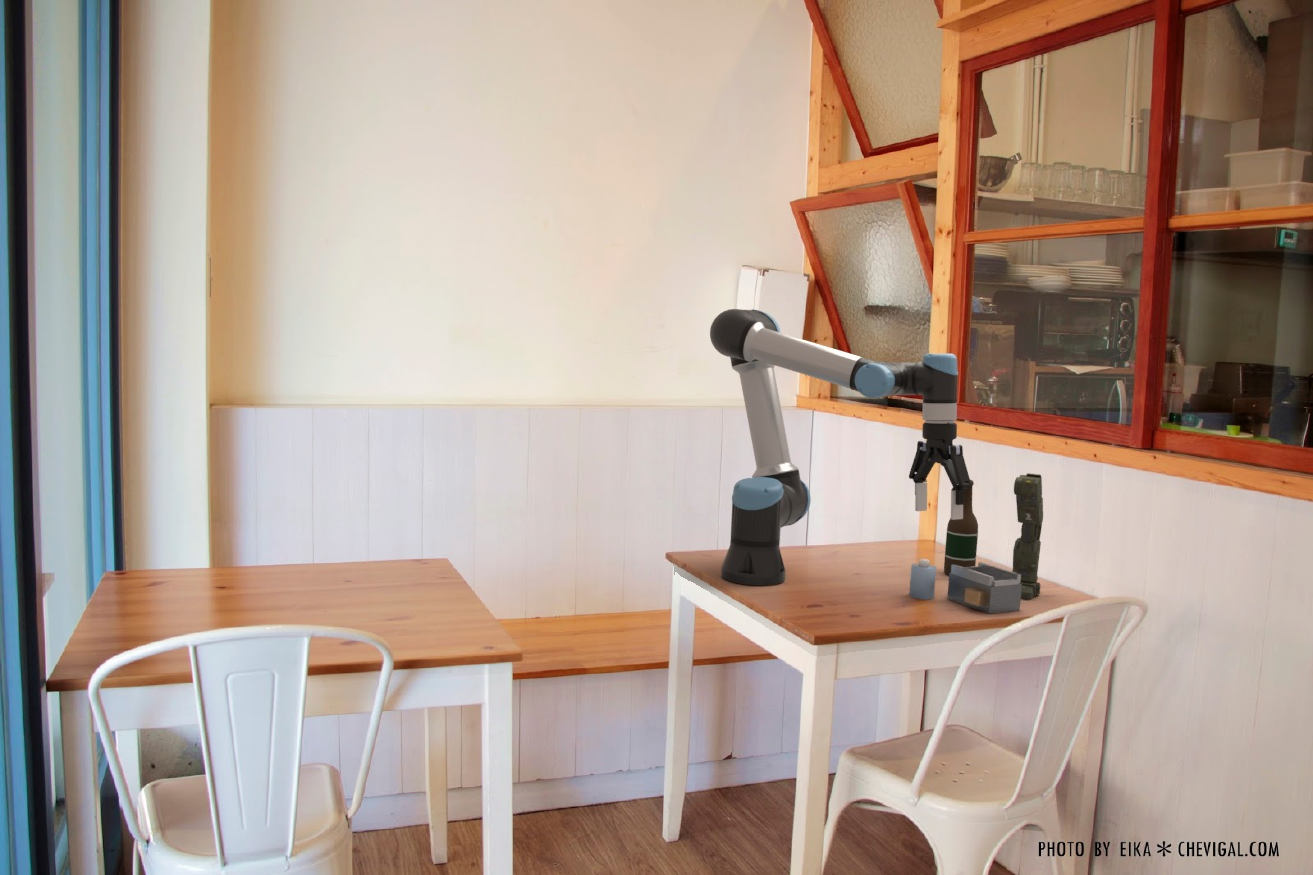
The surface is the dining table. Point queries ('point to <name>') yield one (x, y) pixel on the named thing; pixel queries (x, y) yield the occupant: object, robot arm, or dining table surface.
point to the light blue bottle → (922, 580)
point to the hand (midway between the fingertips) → (938, 515)
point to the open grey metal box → (985, 588)
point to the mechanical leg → (1028, 532)
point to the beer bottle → (962, 537)
